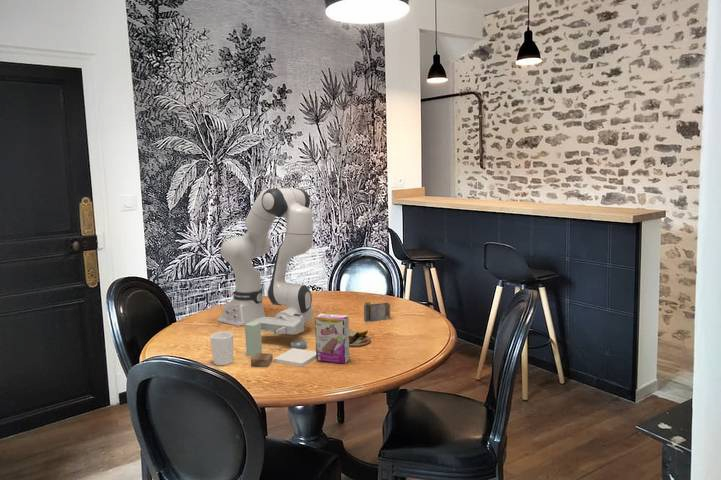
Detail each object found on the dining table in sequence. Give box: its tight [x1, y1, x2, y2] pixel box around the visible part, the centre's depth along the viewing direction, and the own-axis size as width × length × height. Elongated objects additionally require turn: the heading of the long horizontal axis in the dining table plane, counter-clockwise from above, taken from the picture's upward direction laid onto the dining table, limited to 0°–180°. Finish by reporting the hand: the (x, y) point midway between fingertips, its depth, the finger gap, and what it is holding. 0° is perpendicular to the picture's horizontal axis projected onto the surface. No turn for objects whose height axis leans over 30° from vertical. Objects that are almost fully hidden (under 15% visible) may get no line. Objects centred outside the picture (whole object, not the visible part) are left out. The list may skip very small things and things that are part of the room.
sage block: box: [244, 322, 263, 358], centre depth 195 cm, size 4×4×12 cm
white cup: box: [209, 331, 234, 366], centre depth 189 cm, size 8×8×10 cm
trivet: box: [273, 348, 316, 368], centre depth 190 cm, size 12×12×1 cm
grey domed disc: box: [290, 339, 308, 350], centre depth 202 cm, size 6×6×2 cm
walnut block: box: [250, 352, 274, 368], centre depth 186 cm, size 6×6×3 cm
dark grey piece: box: [363, 301, 391, 323], centre depth 234 cm, size 11×3×10 cm, turn 103°
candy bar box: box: [314, 313, 351, 365], centre depth 186 cm, size 11×5×16 cm, turn 71°
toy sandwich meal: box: [349, 328, 372, 348], centre depth 207 cm, size 12×14×5 cm
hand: (265, 331), depth 201 cm, fingers open, 8 cm apart
